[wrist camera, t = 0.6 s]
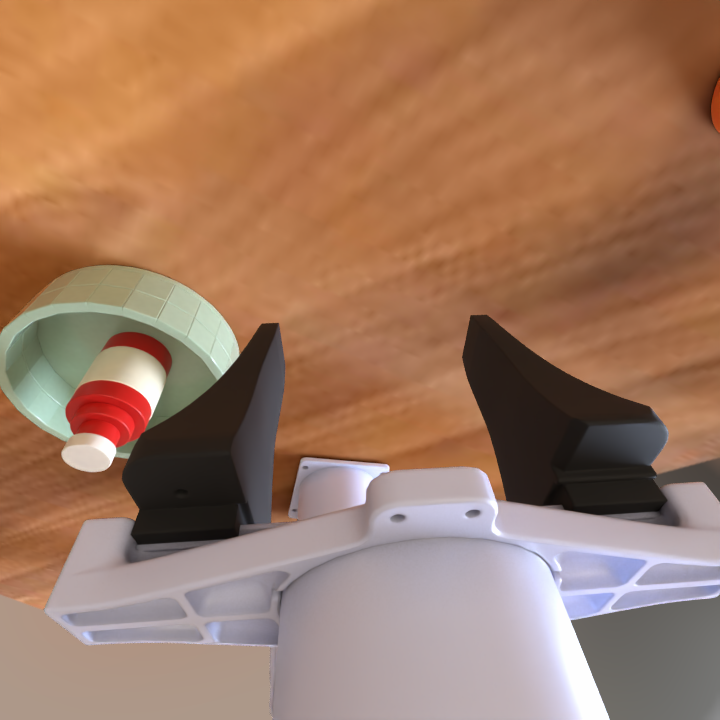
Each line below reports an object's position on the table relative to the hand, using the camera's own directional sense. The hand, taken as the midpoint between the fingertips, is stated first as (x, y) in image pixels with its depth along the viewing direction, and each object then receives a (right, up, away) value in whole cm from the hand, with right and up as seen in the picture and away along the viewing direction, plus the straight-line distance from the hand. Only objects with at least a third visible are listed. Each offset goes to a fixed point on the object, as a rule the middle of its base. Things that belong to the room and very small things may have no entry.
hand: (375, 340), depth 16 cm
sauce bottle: (-15, -1, +12) cm, 19 cm away
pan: (-15, 0, +12) cm, 19 cm away
